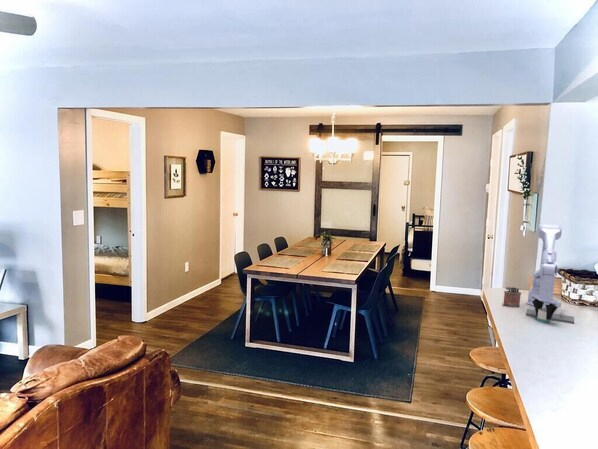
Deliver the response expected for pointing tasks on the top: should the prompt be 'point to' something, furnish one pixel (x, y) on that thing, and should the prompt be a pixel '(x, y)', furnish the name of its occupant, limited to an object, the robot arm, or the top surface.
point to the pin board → (554, 316)
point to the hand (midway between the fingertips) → (543, 317)
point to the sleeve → (542, 315)
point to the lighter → (512, 297)
